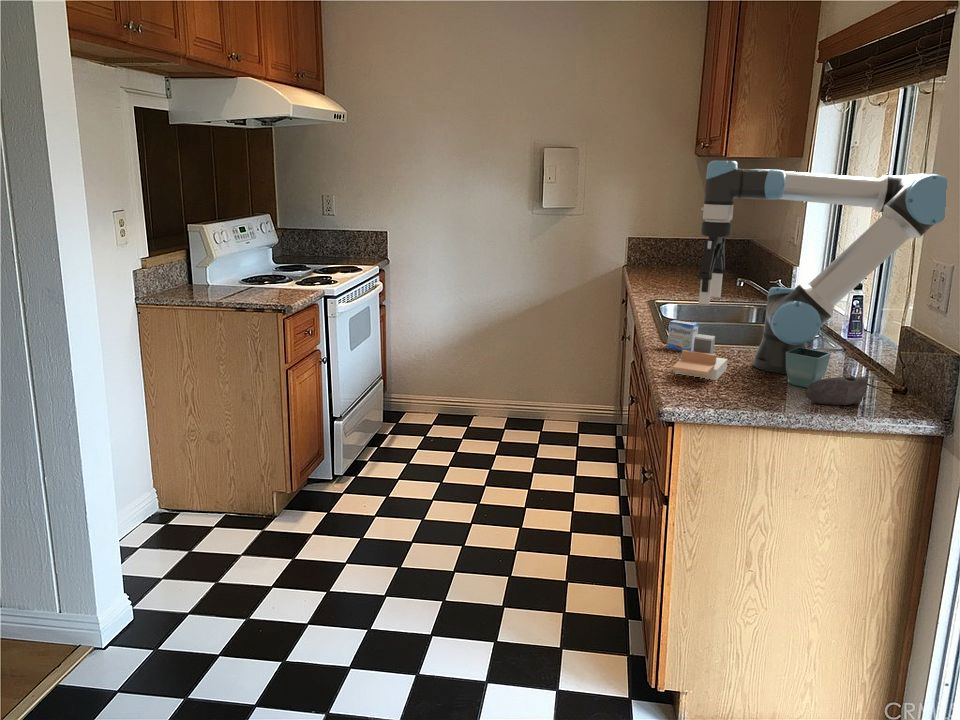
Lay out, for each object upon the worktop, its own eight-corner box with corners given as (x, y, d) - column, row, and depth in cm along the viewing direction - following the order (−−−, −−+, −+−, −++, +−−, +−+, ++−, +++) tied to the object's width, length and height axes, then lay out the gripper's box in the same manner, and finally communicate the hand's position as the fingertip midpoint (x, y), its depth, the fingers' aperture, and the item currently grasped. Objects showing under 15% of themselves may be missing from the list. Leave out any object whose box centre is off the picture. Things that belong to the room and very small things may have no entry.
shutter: (715, 366, 216) (716, 354, 215) (706, 374, 206) (708, 362, 206) (682, 361, 220) (683, 349, 219) (672, 369, 210) (673, 357, 210)
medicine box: (666, 348, 248) (669, 321, 246) (671, 346, 252) (674, 319, 249) (691, 353, 244) (693, 325, 242) (696, 350, 247) (699, 322, 245)
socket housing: (726, 369, 225) (727, 359, 225) (715, 380, 213) (717, 369, 213) (687, 363, 230) (688, 353, 230) (674, 374, 218) (675, 363, 217)
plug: (711, 371, 223) (715, 336, 220) (707, 374, 219) (711, 339, 216) (695, 368, 225) (698, 334, 222) (691, 372, 221) (694, 336, 219)
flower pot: (814, 392, 206) (819, 358, 203) (780, 384, 211) (785, 351, 209) (827, 385, 212) (831, 352, 210) (793, 378, 218) (798, 346, 216)
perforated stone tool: (808, 406, 193) (812, 378, 192) (800, 400, 198) (803, 373, 197) (870, 408, 193) (875, 381, 191) (861, 402, 198) (865, 375, 197)
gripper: (712, 217, 224) (706, 292, 229) (691, 222, 203) (684, 305, 208) (740, 219, 221) (733, 295, 226) (721, 224, 199) (713, 308, 204)
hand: (709, 300), depth 217 cm, fingers open, 13 cm apart
